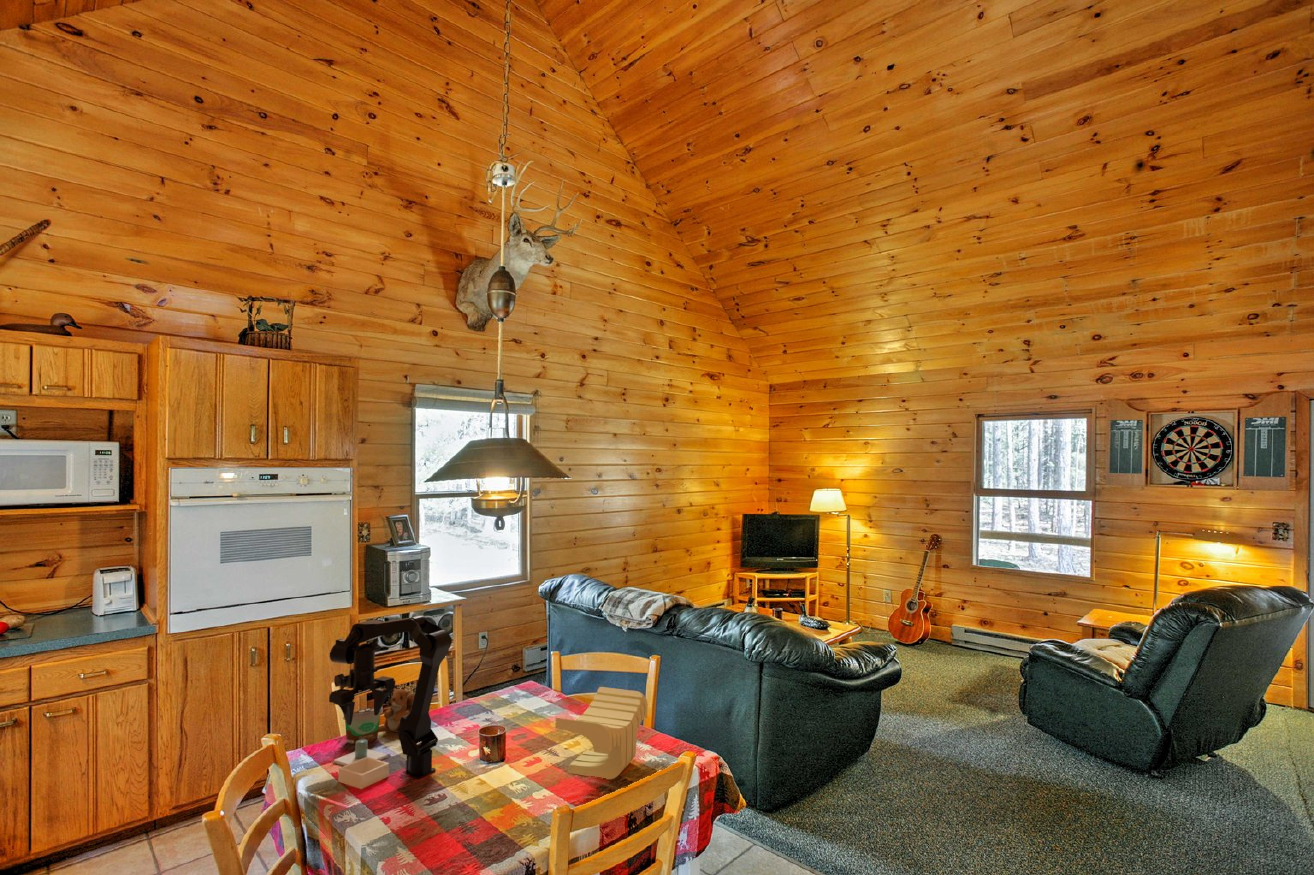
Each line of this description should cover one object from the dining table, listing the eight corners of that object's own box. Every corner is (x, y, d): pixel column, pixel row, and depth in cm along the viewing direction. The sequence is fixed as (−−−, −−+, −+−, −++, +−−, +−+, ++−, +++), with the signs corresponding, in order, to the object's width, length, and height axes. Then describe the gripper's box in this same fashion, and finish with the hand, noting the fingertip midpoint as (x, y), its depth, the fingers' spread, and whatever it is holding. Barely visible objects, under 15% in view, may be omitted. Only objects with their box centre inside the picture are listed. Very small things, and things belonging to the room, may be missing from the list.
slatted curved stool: (608, 794, 179) (609, 725, 180) (554, 785, 184) (555, 717, 186) (646, 752, 208) (647, 692, 209) (598, 744, 213) (599, 686, 214)
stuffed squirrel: (373, 733, 219) (375, 691, 220) (402, 719, 233) (403, 679, 234) (400, 737, 216) (401, 695, 217) (427, 722, 230) (428, 682, 231)
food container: (352, 750, 205) (353, 716, 206) (341, 745, 209) (343, 712, 210) (390, 738, 215) (391, 706, 216) (379, 734, 219) (380, 702, 220)
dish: (388, 778, 187) (389, 763, 187) (361, 791, 179) (361, 775, 179) (366, 771, 191) (366, 756, 192) (338, 783, 183) (338, 768, 184)
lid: (387, 757, 200) (387, 739, 200) (358, 769, 191) (358, 750, 191) (363, 750, 204) (364, 732, 204) (334, 762, 195) (334, 743, 196)
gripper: (371, 655, 212) (370, 706, 210) (317, 669, 195) (315, 725, 194) (397, 659, 206) (396, 712, 205) (343, 674, 190) (341, 732, 189)
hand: (362, 719), depth 198 cm, fingers open, 9 cm apart
